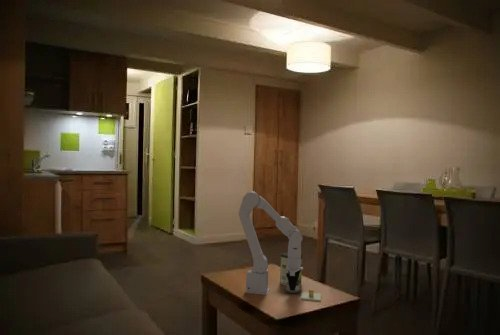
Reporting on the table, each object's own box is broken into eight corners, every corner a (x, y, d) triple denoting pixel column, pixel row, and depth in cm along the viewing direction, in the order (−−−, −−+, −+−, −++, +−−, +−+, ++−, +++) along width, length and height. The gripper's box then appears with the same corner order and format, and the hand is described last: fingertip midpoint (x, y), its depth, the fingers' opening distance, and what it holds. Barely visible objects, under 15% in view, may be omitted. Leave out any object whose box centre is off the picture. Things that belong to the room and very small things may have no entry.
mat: (284, 294, 165) (284, 293, 165) (286, 289, 171) (286, 288, 171) (300, 295, 163) (300, 295, 163) (301, 290, 170) (301, 290, 170)
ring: (285, 292, 165) (286, 285, 165) (287, 288, 171) (287, 281, 171) (298, 293, 164) (299, 286, 164) (299, 289, 169) (300, 282, 169)
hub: (300, 300, 158) (301, 291, 158) (302, 294, 165) (302, 286, 165) (320, 302, 156) (320, 293, 156) (320, 296, 164) (321, 287, 164)
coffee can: (303, 282, 183) (304, 252, 183) (298, 288, 174) (299, 257, 174) (283, 279, 187) (284, 250, 187) (276, 284, 178) (277, 254, 178)
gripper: (302, 261, 159) (301, 294, 159) (304, 254, 174) (303, 283, 174) (285, 260, 161) (284, 292, 161) (289, 252, 175) (287, 282, 175)
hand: (293, 287), depth 167 cm, fingers closed on ring, 6 cm apart
